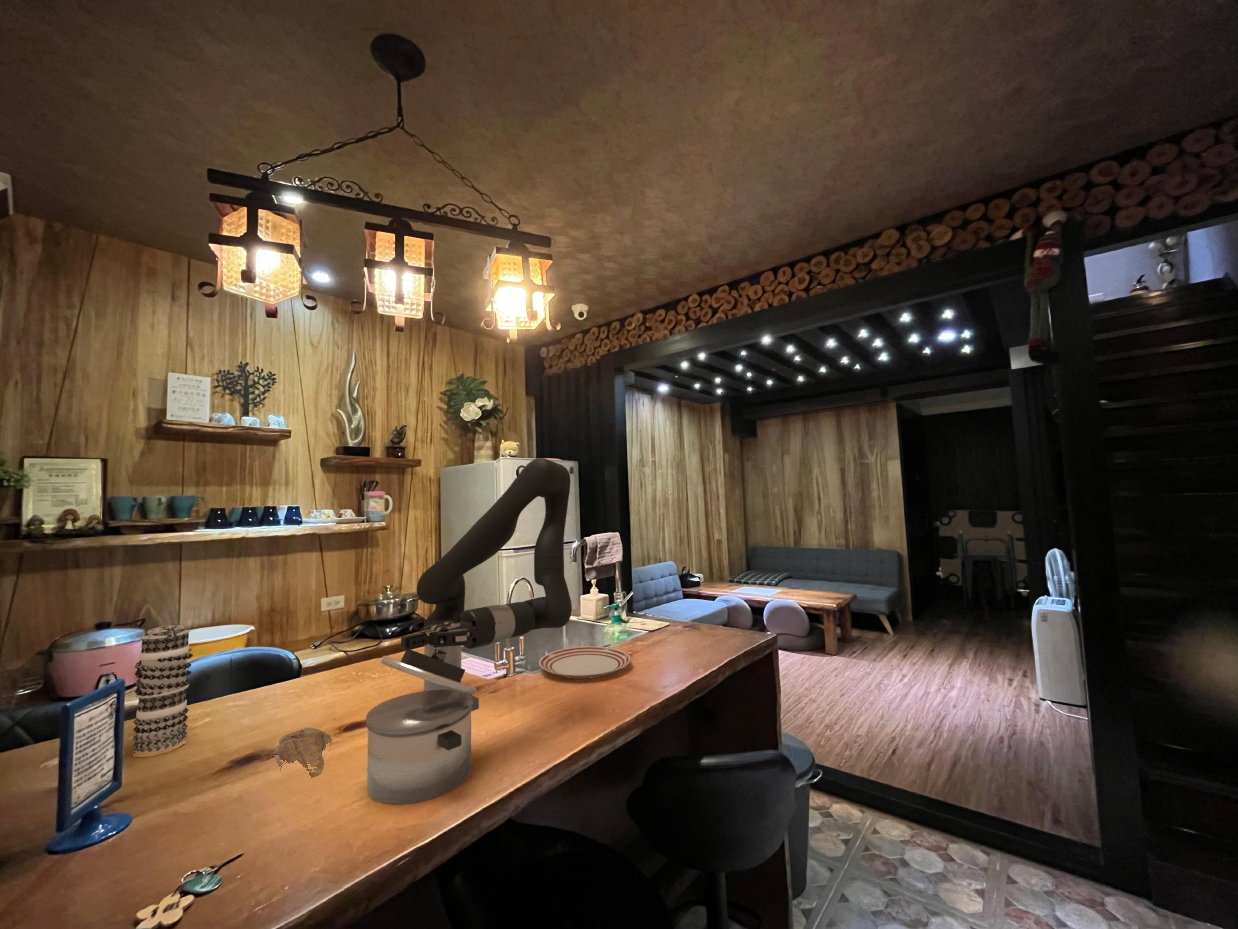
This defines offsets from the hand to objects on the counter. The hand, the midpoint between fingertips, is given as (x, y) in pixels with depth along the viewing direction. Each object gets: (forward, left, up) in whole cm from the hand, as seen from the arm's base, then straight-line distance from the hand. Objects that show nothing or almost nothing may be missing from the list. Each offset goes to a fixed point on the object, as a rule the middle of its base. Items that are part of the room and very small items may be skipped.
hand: (403, 643), depth 90 cm
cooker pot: (-2, +3, -24) cm, 24 cm away
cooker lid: (-2, +4, -7) cm, 9 cm away
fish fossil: (-20, -21, -25) cm, 38 cm away
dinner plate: (-52, +45, -25) cm, 73 cm away
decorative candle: (-35, -51, -24) cm, 66 cm away
